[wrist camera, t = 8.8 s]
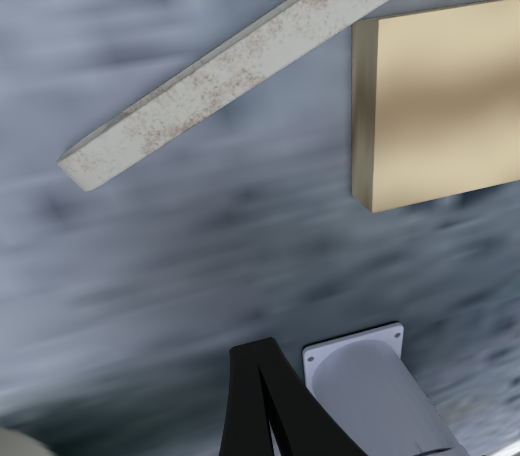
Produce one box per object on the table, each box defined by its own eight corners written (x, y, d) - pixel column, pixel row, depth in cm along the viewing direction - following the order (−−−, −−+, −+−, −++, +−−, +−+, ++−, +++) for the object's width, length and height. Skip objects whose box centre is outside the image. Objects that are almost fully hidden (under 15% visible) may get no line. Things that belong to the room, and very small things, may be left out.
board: (500, 162, 22) (535, 176, 20) (351, 194, 21) (371, 213, 19) (538, -8, 18) (588, -13, 16) (352, 21, 17) (378, 20, 15)
